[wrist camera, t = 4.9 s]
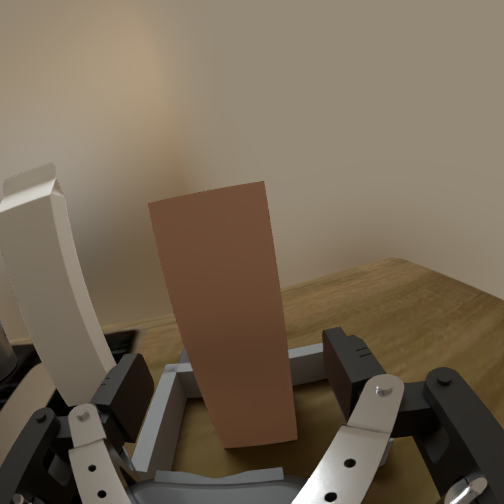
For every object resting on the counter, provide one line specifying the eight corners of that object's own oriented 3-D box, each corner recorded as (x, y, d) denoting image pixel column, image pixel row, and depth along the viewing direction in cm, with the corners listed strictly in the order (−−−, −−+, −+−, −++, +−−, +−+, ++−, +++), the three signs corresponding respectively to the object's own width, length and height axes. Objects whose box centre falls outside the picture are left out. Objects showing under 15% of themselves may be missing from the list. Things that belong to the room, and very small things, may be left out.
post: (224, 448, 15) (148, 203, 11) (226, 401, 20) (175, 198, 16) (297, 439, 15) (263, 181, 11) (288, 393, 20) (257, 183, 16)
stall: (149, 491, 11) (128, 469, 10) (176, 389, 22) (166, 364, 21) (384, 464, 11) (393, 439, 10) (337, 366, 21) (337, 339, 21)
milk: (119, 396, 21) (46, 154, 15) (67, 408, 18) (-11, 177, 13) (117, 364, 26) (62, 166, 21) (72, 375, 24) (13, 182, 18)
